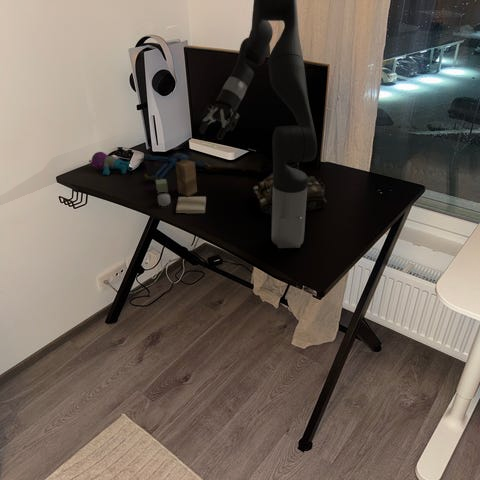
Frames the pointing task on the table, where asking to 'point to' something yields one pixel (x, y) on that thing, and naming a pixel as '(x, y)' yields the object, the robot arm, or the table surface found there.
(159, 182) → the sage cube
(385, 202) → the table surface
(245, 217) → the table surface
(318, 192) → the model tank
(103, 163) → the toy
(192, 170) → the walnut post
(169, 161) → the toy character
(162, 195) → the grey rubber puck
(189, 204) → the birch coaster
